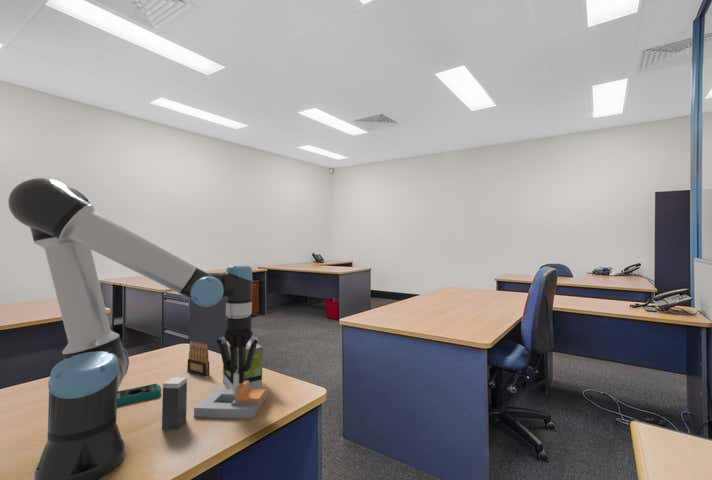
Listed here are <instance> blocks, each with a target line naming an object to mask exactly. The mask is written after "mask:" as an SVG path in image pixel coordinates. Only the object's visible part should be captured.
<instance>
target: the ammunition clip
mask: <svg viewBox="0 0 712 480" xmlns="http://www.w3.org/2000/svg"><path fill="white" fill-rule="evenodd" d="M208 346H209V345H208V344H207V343H204V342H203V343H201V342H198V341H192V340H190V344H189V350H188V358H187V370H186V372H187V373H190V374H193V373H194V375H197V374H198V375H197V376H201V375H202V376H201V377H205V376H206V377H208V376H210V361H209V347H208ZM207 375H208V376H207Z"/></svg>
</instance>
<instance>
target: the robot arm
mask: <svg viewBox="0 0 712 480" xmlns="http://www.w3.org/2000/svg"><path fill="white" fill-rule="evenodd" d="M8 209H9V211H10V213H11V214H12V216H13V217H14V218H15V219H16V220H17V221H18V222H19V223H20V224H23V225H25V226H27V227H29V229H30V232H31V236H32V239H33V242H34V244H35V245H37V246H39V247H41V248H43V250H44V252H45V256H46V259H47V264H48V268H49V271H50V275H51V279H52V283H53V288H54V290H55V295H56V299H57V302H58V307H59V310H60V311H59V312H60V314H61V315H60V316H61V318H62V323H63V326H64V331H65V334H66V339H67V345H66V346H65V347H64V348H63V350H62V351H61V352H62V357H63V360H61V361H59V362H58V363H56V365H54V366H53V368H52V369H51V372H50V375H49V379H48V383H47V384H48V387H47V388H48V409H47V411H48V413H47V414H48V415H47V439H46V444H45V446H44V447H43V451H42V453H41V456H40V458H39V462H38V464H37V465H36V468H35V470H34V474H33V475H34V477H33V478H34V479H33V480H96V479H97V480H98V479H101V478H102V477H104V476H105V475H106V476H107V474H109V473H111V472H112V471H113V470H115V469H116V468H118V466H119V465H120V464H121V463H122V462H123V460H124V459H125V455H126V454H125V453H126V445H125V442H124V439H123V438H122V435H121V432H120V429H119V427H118V426H119V425H118V424H117V411H118V406H117V392H118V391H119V387H120V386H121V383H122V381H123V380H124V378H125V377H126V374H127V373H128V370H129V365H130V357H129V354H128V352H127V350H126V349H125V348H124V347H123V343H122V340H121V336H120V334H119V333H117V332H115V331H113V330H111V329H112V328H111V326H110V321H109V317H108V314H107V308H106V306H105V301H104V296H103V292H102V288H101V286H100V285H101V284H100V281H99V280H100V279H99V275H98V272H97V268H96V264H95V261H94V256H93V252H92V251H94V252H96V253H97V254H99V255H102V256H103V257H105V258H108V259H109V260H112V261H113V262H116V263H118V264H120V265H122V266H124V267H125V268H128V269H129V270H132V271H134V272H136V273H137V274H140V275H142V276H144V277H146V278H148V279H149V280H152V281H153V282H156V283H158V284H159V285H162V286H164V287H166V288H168V289H170V290H172V291H174V292H175V293H178V294H179V295H181V297H182V299H183V300H192V301H193V303H194V304H196V305H197V306H200V307H203V308H207V307H208V308H209V307H213V306H214V305H216V304H218V303H219V302H221V300H222V298H226V300H225V302H226V303H225V315H226V318H225V332H224V335H223V336H222V337H220V338H217V340H216V341H215V342H216V343H217V346H218V347H219V351H220V355H221V360H222V364H223V365H224V370H225V371H229V372H230V373H231V383H233V396H235V389H236V388H237V387H238V386H239V385H240V384H242V383H243V382H244V380H245V371H248V370H249V369H250V368H251V366H252V362H253V358H254V354H255V350H256V346H257V344H259V342H260V341H261V339H260V337H256V336H254V334H253V331H252V323H253V322H252V319H253V317H252V316H251V315H252V313H253V312H252V311H253V310H252V309H253V302H252V301H253V282H254V280H253V269H252V267H251V266H250V265H228V266H227V268H226V271H224V272H206V271H204V270H202V269H200V268H198V267H197V266H194V265H193V264H191V263H189V262H188V261H186V260H184V259H182V258H180V257H178V256H177V255H175V254H173V253H171V252H169V251H167V250H166V249H164V248H162V247H161V246H158V245H157V244H154V243H152V242H151V241H149V240H147V238H143V237H141V236H140V235H138V234H137V233H135V232H134V231H133V232H132V231H131V230H129V229H127V228H126V227H124V226H122V225H120V224H118V223H116V222H115V221H113V220H111V219H109V218H107V217H105V216H104V215H101V214H100V213H98V212H96V211H95V206H94V205H93V204H91V202H90V201H89V199H88V198H87V197H86V195H84V194H83V193H82V192H81V191H78V190H77V189H75V188H73V187H70V186H68V185H66V184H65V183H63V182H61V181H59V180H55V179H51V178H43V177H41V178H40V177H39V178H32V179H28V180H24V181H23V182H21V183H19V184H17V185H16V186H14V188H13V189H12V191H10V194H9V196H8ZM249 340H251V342H250V343H251V346H250V349H249V353H248V357H247V361H246V344H247V343H248V342H249ZM227 341H228V343H229V344H230V351H231V353H230V356H229V351H228V347H227V343H226V342H227ZM238 351H239V371H238V370H237V369H238V368H237V356H238ZM223 365H222V366H223Z"/></svg>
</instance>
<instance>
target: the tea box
mask: <svg viewBox="0 0 712 480" xmlns="http://www.w3.org/2000/svg"><path fill="white" fill-rule="evenodd" d="M250 342H251V340H249V342H248V343H247V344H246V361H247V357H248V353H249V349H250V346H251V343H250ZM226 343H227V347H228V351H229V356H230V353H231V351H230V344H229V343H228V341H227V342H226ZM263 348H264V347H263V346H262V345H261V344H259V343H258V344H257V346H256V350H255V354H254V358H253V362H252V366H251V368H250V369H249V370H248V371H245V380H249V388H253V389H261V388H262V389H263V362H264V361H263V358H264V357H263V356H264V354H263V353H264V350H263ZM237 368H238V369H237V370H238V371H239V351H238V356H237ZM222 382H223V383H224V385H225V386H226V389H233V383H231V373H230V372H229V371H225V370H224V365H222Z"/></svg>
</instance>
